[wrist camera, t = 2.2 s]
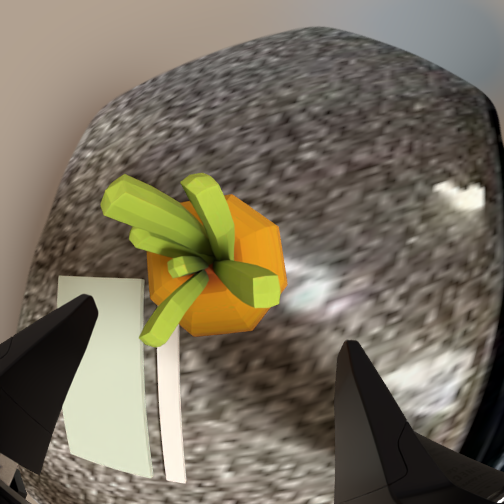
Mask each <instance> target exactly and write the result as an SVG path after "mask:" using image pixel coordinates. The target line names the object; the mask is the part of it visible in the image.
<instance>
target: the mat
mask: <svg viewBox="0 0 504 504" xmlns="http://www.w3.org/2000/svg"><path fill="white" fill-rule="evenodd" d="M144 282H145V280H143V279H128V278H100V277H77V276H59V279H58V295H57V308H59V307H61V306H62V305H64V304H66V303H67V302H69V301H71V300H72V299H74V298H76V297H78V296H79V295H81V294H88V295H91V296H92V297H93V298H94V301H95V303H96V306H97V309H98V318H97V321H96V324H95V327H94V329H93V332H92V335H91V338H90V341H89V344H88V346H87V349H86V351H85V354H84V356H83V358H82V361H81V363H80V365H79V367H78V370H77V372H76V374H75V377H74V379H73V381H72V384H71V386H70V389H69V391H68V394H67V396H66V399H65V401H64V404H63V406H62V409H63V416H64V422H65V428H66V433H67V439H68V444H69V448H70V453H71V454H73V455H75V456H78V457H81V458H83V459H86V460H89V461H92V462H95V463H97V464H100V465H104V466H107V467H110V468H113V469H116V470H120V471H123V472H127V473H131V474H135V475H139V476H143V477H147V478H152V476H153V468H152V461H151V454H150V445H149V436H148V426H147V415H146V402H145V385H144V357H143V342H142V341H141V340H140V339H139V336H140V334H141V332H142V330H143V310H144Z"/></svg>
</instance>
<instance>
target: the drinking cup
mask: <svg viewBox="0 0 504 504" xmlns="http://www.w3.org/2000/svg"><path fill="white" fill-rule="evenodd" d="M414 433H415V434H416V436H417V437H418V439H419V441H420V442H421V443H422V445H423V446H424V448H425V449H426V451H427V452H428V453H429V455H430V456H431V457H432V459H433V460H434V461H435V463H436V464H437V465H438V467H439V468H440V469H441V471H442V472H443V474H444V475H445V476H446V477H447V478H448V479H449V480H450V481H451V482H452V483H453V484H455V485H456V486H458V487H460V488H463V489H465V490H467V491H469V492H471V493H474V494H476V495H478V496H481V497H483V498H486V499H488V500H491V501H493V502H497V503H501V502H504V472H501V471H499V470H496V469H494V468H491V467H489V466H487V465H484V464H482V463H480V462H477V461H475V460H473V459H470V458H468V457H466V456H464V455H461V454H459V453H457V452H455V451H453V450H451V449H449V448H446V447H444V446H442V445H440V444H438V443H436V442H434V441H432V440H430V439H428V438H426V437H424V436H422V435H420V434H418V433H416V432H414Z"/></svg>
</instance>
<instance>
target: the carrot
mask: <svg viewBox="0 0 504 504" xmlns="http://www.w3.org/2000/svg"><path fill="white" fill-rule="evenodd" d="M180 183H181V185H182V187H183V189H184V191H185V192H186V194H187V196H188V198H189V200H190V201H188V202H182V203H179V202H178V201H176V200H174V199H173V198H171V197H169V196H168V195H166V194H164V193H162V192H161V191H159V190H157V189H156V188H154V187H152V186H150V185H148V184H146V183H144V182H141V181H139V180H137V179H135V178H132V177H130V176H128V175H126V174H124V175H122V176H121V177H119V178H118V179H116V180H115V181H113V182H112V183H111V184H110V185H109V187H108V188H107V189H106V190H105V193H104V196H103V199H102V202H101V205H100V206H101V208H102V211H103V214H104V216H107V217H110V218H112V219H115V220H117V221H120V222H123V223H125V224H128V225H131V226H133V227H132V229H131V230H130V235H129V240H130V241H131V242H132V243H133V245H134V246H135V247H136V248H139V249H142V250H146V251H147V265H148V280H149V292H150V299H151V300H152V301H153V302H154V303H155V304H156V305H158V307H157V308H156V310H155V311H154V313H153V314H152V316H151V317H150V318H149V320H148V321H147V323H146V324H145V326H144V328H143V330H142V332H141V334H140V336H139V339H140V340H141V341H142V342H143V343H144V344H146V345H149V346H152V347H161V346H162V345H163V344H165V343H166V342H167V341H168V339H169V338H170V336H171V335H172V333H173V332H174V330H175V329H176V327H177V325H178V324H179V325H180V326H182V327H183V328H184V329H185V330H186V331H188V332H189V333H190V334H191V335H192V336H194V337H199V336H210V335H219V334H229V333H238V332H246V331H253V329H254V328H255V327H256V326H257V324H258V323H259V322H260V320H261V319H262V318H263V317H264V315H265V314H266V313H267V311H268V310H269V309H270V307H272V306H275V305H277V304H279V300H280V294H281V293H282V292H283V290H284V289H285V288H286V286H287V285H288V284H287V277H286V271H285V264H284V258H283V251H282V245H281V239H280V232H279V227H278V226H277V225H275V224H274V223H272V222H271V221H270V220H268V219H267V218H265V217H264V216H262V215H261V214H260V213H258V212H257V211H255V210H254V209H252V208H251V207H250V206H248V205H247V204H245V203H244V202H242V201H241V200H240V199H238V198H237V197H235V196H234V195H232V194H230V195H223V193H222V191H221V189H220V187H219V184H218V183H217V182H216V181H215V180H214V179H213V178H212V177H211V176H209V175H207V174H204V173H198V174H192V175H189V176H188V177H186V178H185V179H184V180H183V181H181V182H180Z"/></svg>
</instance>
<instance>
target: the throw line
mask: <svg viewBox="0 0 504 504" xmlns="http://www.w3.org/2000/svg"><path fill="white" fill-rule="evenodd" d="M157 307H158V305H157ZM157 366H158V392H159V410H160V424H161V435H162V446H163V455H164V464H165V472H166V479H167V480H168V481H173V482H179V483H186V472H185V462H184V450H183V436H182V420H181V400H180V368H179V324H178V325H177V327H176V329H175V330H174V332H173V333H172V335H171V336H170V338H169V339H168V341H167V342H166V343H165V344H163V345H162V346H161V347H157Z"/></svg>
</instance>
